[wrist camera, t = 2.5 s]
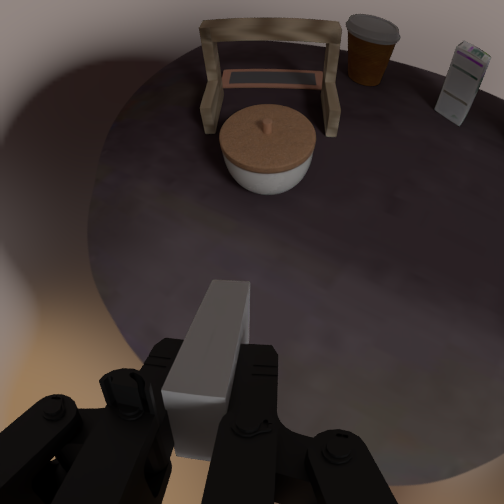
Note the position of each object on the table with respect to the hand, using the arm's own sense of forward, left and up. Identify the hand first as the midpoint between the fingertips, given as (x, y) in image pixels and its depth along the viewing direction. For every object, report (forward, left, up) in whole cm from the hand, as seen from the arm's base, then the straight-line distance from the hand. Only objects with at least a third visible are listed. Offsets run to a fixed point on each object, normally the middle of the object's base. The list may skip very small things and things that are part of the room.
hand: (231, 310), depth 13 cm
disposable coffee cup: (-17, -49, -20) cm, 56 cm away
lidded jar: (0, -23, -20) cm, 31 cm away
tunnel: (0, -36, -20) cm, 41 cm away
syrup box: (-33, -42, -20) cm, 57 cm away
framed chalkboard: (0, -46, -20) cm, 50 cm away
